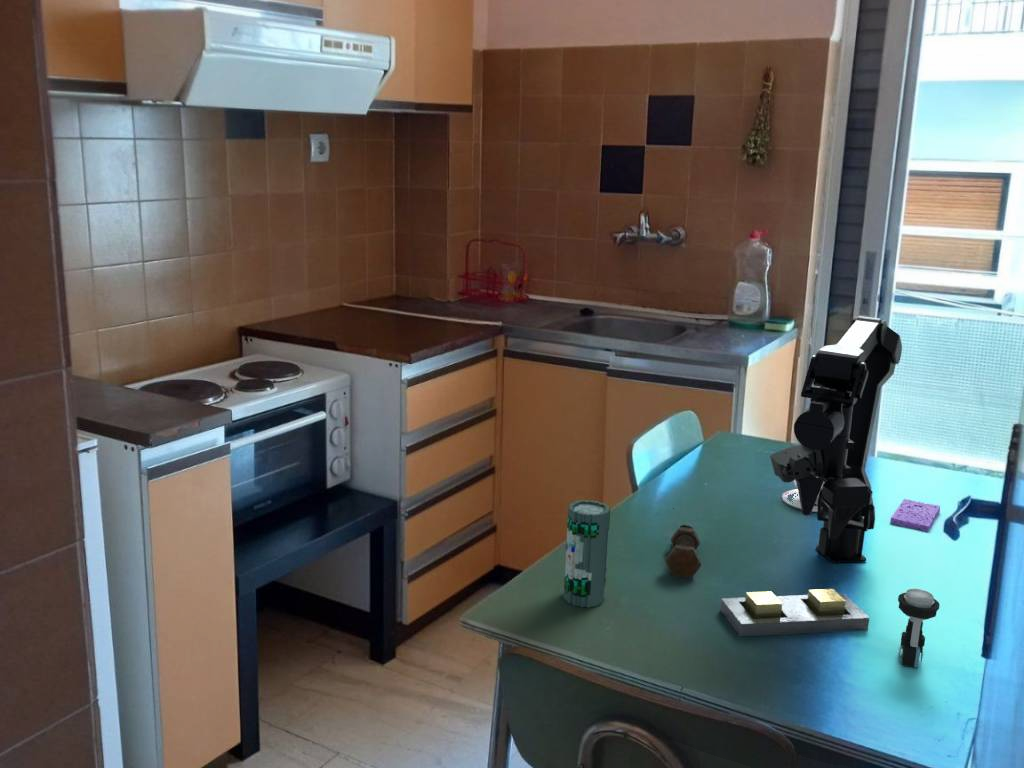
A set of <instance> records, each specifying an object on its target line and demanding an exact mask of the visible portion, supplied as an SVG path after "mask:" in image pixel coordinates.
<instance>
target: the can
mask: <svg viewBox="0 0 1024 768" xmlns="http://www.w3.org/2000/svg"><path fill="white" fill-rule="evenodd" d="M567 507H568V508H567V525H566V526H567V527H566V528H567V529H566V544H565V545H566V546H565V561H564V563H565V565H564V581H563V582H564V584H563V599H564V600H565V601H566V602H567V603H568V604H569V605H570V604H572V605H573V606H576V607H580V608H585V607H586V608H587V609H588V608H594V607H599V606H600V605H602V604H603V603H604V602H605V600H606V598H605V597H606V583H607V567H608V552H609V551H608V550H609V539H610V538H609V536H610V524H611V523H610V521H611V507H610V506H609V505H607V504H606V503H605V502H602V503H601V502H600V501H597V500H592V499H591V500H587V499H581V500H574V502H570V503H569V505H568V506H567Z"/></svg>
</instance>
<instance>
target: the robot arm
mask: <svg viewBox="0 0 1024 768" xmlns="http://www.w3.org/2000/svg"><path fill="white" fill-rule="evenodd" d="M902 344H903V343H902V340H901V336H900V334H899V333H897V332H896V331H894V330H893V329H891V328H890V327H889V326H888V325H887V321H886V320H883V319H882V318H881V317H880V318H878V317H871V316H870V317H868V316H863V315H859V316H854V317H853V318H852V322H851V324H850V327H849V328H848V329H847V331H846V332H845V334H843V336H842V337H841V338H840V339H839V341H838V342H837V343H836V344H829V345H824V346H822V347H821V348H819V349H818V350H817V352H816V353H815V354H814V355H812V356H811V358H810V361H809V364H808V367H807V372H806V374H805V379H804V383H803V386H802V388H801V389H802V390H801V393H800V397H802V398H807V399H810V403H809V407H808V408H807V409H805V410H804V411H803V412H802V413H800V415H799V416H798V417H797V418H796V420H795V422H794V424H793V425H794V426H793V433H794V437H795V438H796V440H797V441H798V442H799V444H798V445H793V446H790V447H787V448H784V449H782V450H781V449H780V450H778V451H776V452H774V453H771V454H770V456H769V458H770V461H771V467H772V469H773V473H774V475H775V476H776V477H778V478H779V479H780V480H781V482H784V483H791V482H792V483H793V481H794V480H795V482H796V484H797V488H798V493H799V498H800V503H801V508H802V509H801V511H802V512H801V513H802V515H803V516H810V515H811V513H812V509H813V507H814V506H815V505H814V504H815V502H816V499H817V497H818V505H817V506H818V512H817V517H816V519H817V521H819V522H823V525H822V527H821V528H820V530H819V531H820V532H819V537H818V538H819V540H818V544H817V545H816V546H815V549H817V551H818V552H820V553H821V554H822V555H823V556H824V557H825V558H826V559H827V560H829V561H830V562H831V563H834V564H836V563H856V562H857V563H859V562H866V561H867V557H865V556H864V555H863V549H864V541H865V532H868V530H874V529H875V524H876V511H875V509H876V507H875V505H874V499H873V493H874V492H873V491H872V486H871V485H872V484H871V483H870V480H869V478H868V475H867V472H866V466H867V461H868V455H869V452H870V445H871V441H872V435H873V430H874V426H875V419H876V417H877V416H876V415H877V411H878V406H879V405H878V403H879V399H880V395H881V388H882V387H883V386H884V385H885V384H886V383H887V382H888V381H889V380H890V379H891V377H892V376H893V375H894V373H895V369H896V365H899V364H900V362H901V357H902V353H903V345H902ZM823 481H824V482H825V483H824V484H823ZM822 484H823V487H822V488H821V486H822ZM797 488H796V489H797ZM818 494H819V496H818Z"/></svg>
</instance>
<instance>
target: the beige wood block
mask: <svg viewBox="0 0 1024 768" xmlns="http://www.w3.org/2000/svg"><path fill="white" fill-rule="evenodd" d="M776 596H777V595H776V594H774V593H773V592H772V591H771V590H770V591H768V590H767V591H752V592H751V591H749V592H748V591H746V592H745V598H746V599H745V608H744V609H745V610H746V611H747V613H748V614H749V615H750V616H751V617H752V619H766V618H781V612H782V603H781V601H780V600H779V599H778V598H777V597H776Z"/></svg>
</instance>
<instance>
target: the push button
mask: <svg viewBox="0 0 1024 768" xmlns="http://www.w3.org/2000/svg"><path fill="white" fill-rule="evenodd" d="M934 597H935V596H934V595H933V594H932V593H931V592H929V591H927V590H924V589H920V588H909V589H907V590H906V591H905V592H901V594H899V595H898V597H897V601H898V609H899V610H900V611H901V612H902V613H903V614H904V615H905V616H907V617H908V621H907V625H906V627H905V631H903V632H901V638H900V645H899V650H898V658H900V657H901V666H903V665H904V667H910V668H917V669H918V668H919V662H923V658H924V651H923V650H924V648H923V647H925V642H926V636H925V635H923V628H924V627H923V626H924V621H926V620H929V619H932V618H935V617H937V612H938V611H939V609H940V606H941V605H940V602H939V601H938V600H936V599H935V598H934ZM901 651H902V652H901ZM901 653H902V656H901Z"/></svg>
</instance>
